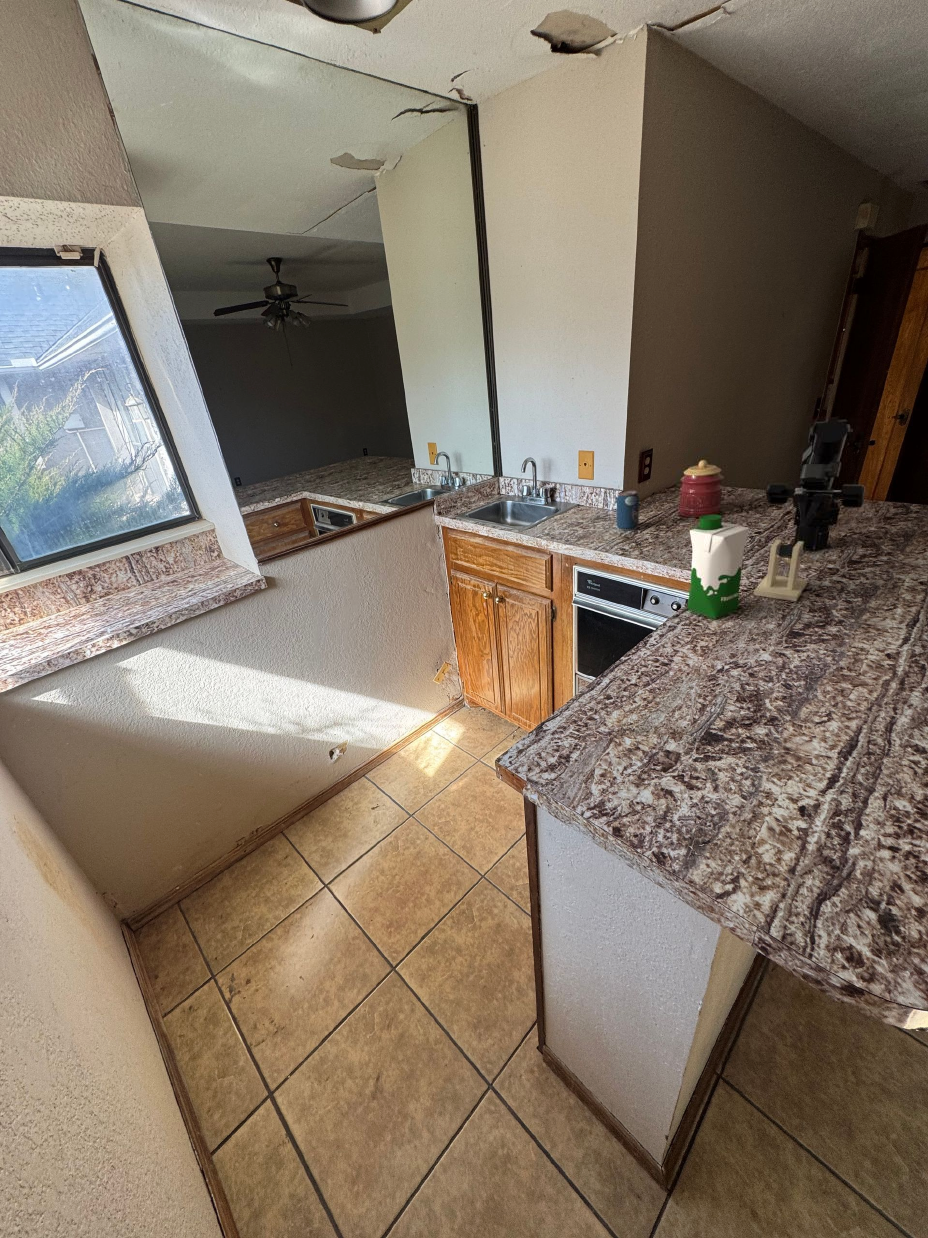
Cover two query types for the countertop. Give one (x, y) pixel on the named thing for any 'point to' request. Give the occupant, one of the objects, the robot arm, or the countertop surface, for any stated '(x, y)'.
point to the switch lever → (786, 553)
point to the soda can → (627, 510)
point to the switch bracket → (782, 585)
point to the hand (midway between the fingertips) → (803, 526)
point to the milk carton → (716, 566)
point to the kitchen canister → (701, 490)
